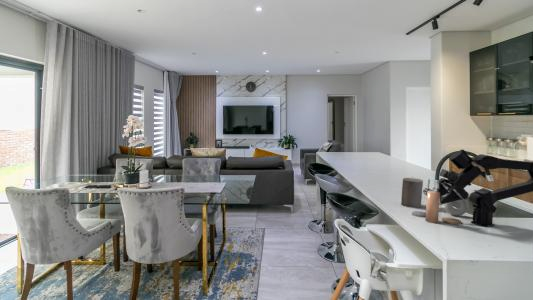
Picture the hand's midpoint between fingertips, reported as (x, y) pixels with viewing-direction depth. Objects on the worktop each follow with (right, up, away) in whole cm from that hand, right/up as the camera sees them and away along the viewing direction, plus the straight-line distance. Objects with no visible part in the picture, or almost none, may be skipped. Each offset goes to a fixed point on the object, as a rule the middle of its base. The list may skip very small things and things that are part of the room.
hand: (437, 200), depth 142 cm
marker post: (-2, -9, +1) cm, 9 cm away
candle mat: (-2, -8, +11) cm, 14 cm away
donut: (+14, -9, +10) cm, 19 cm away
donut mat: (+7, -9, +1) cm, 12 cm away
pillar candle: (+1, -7, +28) cm, 29 cm away
